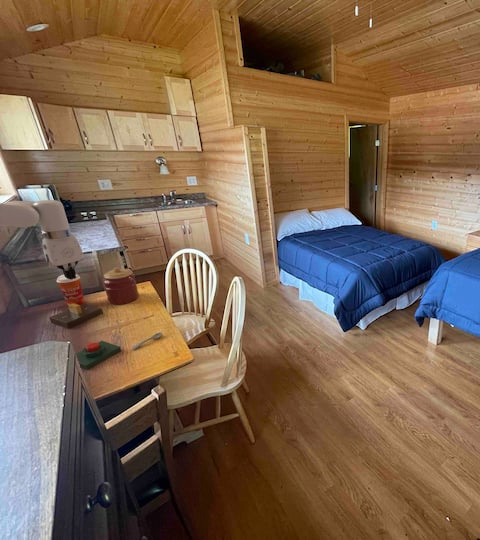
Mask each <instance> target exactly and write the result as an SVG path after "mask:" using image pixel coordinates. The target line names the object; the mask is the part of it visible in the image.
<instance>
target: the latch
mask: <svg viewBox="0 0 480 540" xmlns="http://www.w3.org/2000/svg"><path fill="white" fill-rule="evenodd" d="M67 307H68V310H70V312H72V313H75V314H78V315H79V314H81V313H82V310H81V307H80V305H77V304H74V303H72V302H71V303H69V304H68V305H67Z"/></svg>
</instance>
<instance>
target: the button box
mask: <svg viewBox="0 0 480 540" xmlns="http://www.w3.org/2000/svg"><path fill="white" fill-rule="evenodd" d="M97 343H98V344H99V347H100V348H99V349H98V350H96V351H93V352H88V351H87V348H86V346H84V348H83V349H82V350H80V351H78V352H76V353H75V354H76V355H77V358H78V361H79V364H80V367H79V368H81V369H84V370H87V371H89V370H91V369H92V368H94V367H97V366H98V365H100V364H101V363H103V362H105V361H107V360H108V359H110V358H112V357H113V356H116V355H117V354H119V353H121V352H122V347H121V346H119V345H117V344H113V343H111V342H108V341H105V340H100V341H98V342H97Z"/></svg>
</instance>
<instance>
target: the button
mask: <svg viewBox="0 0 480 540" xmlns="http://www.w3.org/2000/svg"><path fill="white" fill-rule="evenodd" d="M85 347H86V348H87V351H88V352H93V351H96V350H98V349H99V348H100V347H99V344H98V342H91V343H89V344H87V345H86V346H85Z"/></svg>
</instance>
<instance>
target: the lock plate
mask: <svg viewBox="0 0 480 540" xmlns="http://www.w3.org/2000/svg"><path fill="white" fill-rule="evenodd" d="M80 307H81V310H82V313H81V314H79V315H78V314H75V313H72V312H70V310H69V309H67V310H64V311H62V312H59V313H57V314H54V315H51V316H49V317H48V319H49V321H50V324H52V325H56V326H59V327H62V328H65V329H67V330H69V329H72V328H75V327H76V326H78V325H80V324H83V323H86V322H88V321H90V320H93V319H94V318H97V317H99V316H102V315H104V312H103V309H102V307H98V306H95V305H92V304H88V303H84V304H82V305H80Z"/></svg>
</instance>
